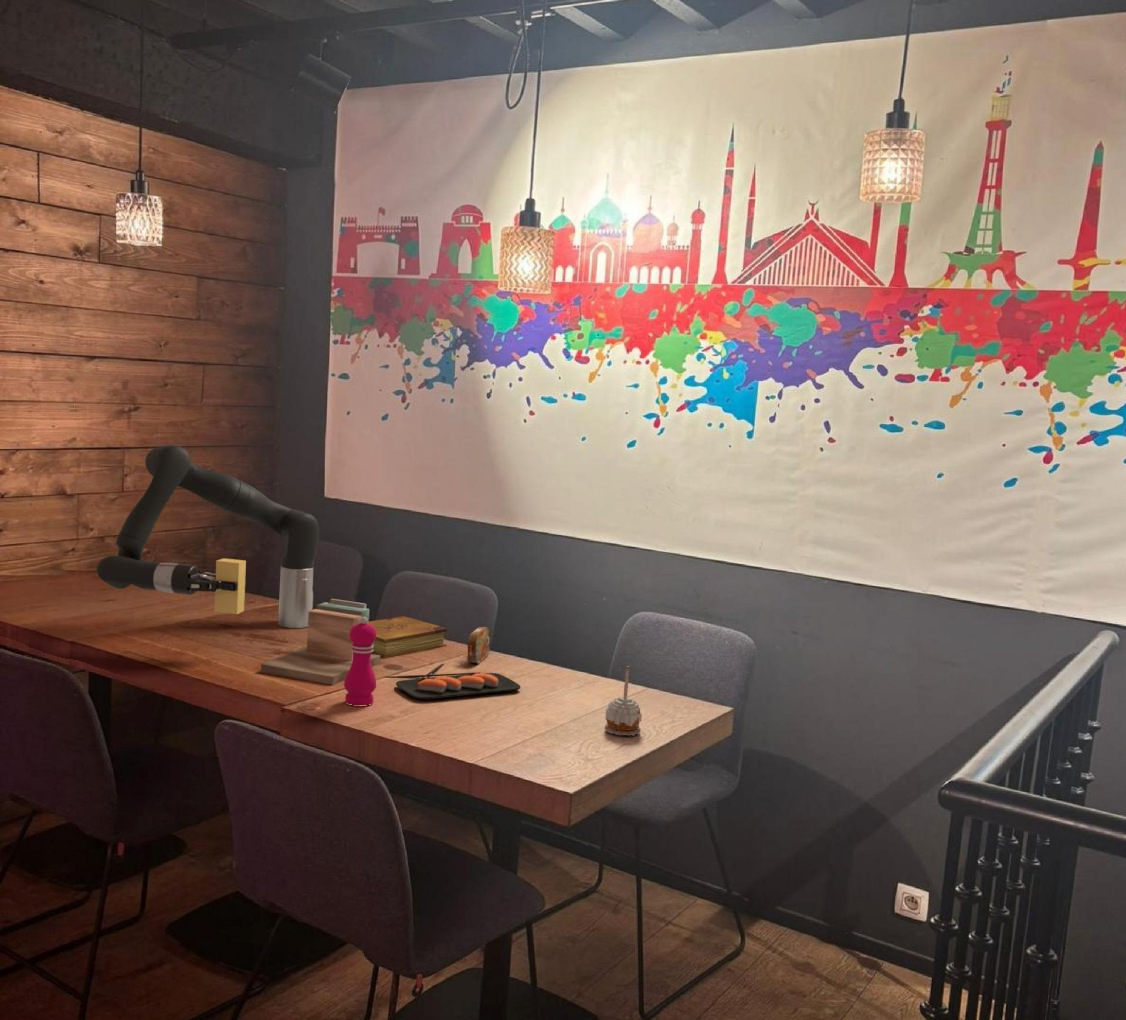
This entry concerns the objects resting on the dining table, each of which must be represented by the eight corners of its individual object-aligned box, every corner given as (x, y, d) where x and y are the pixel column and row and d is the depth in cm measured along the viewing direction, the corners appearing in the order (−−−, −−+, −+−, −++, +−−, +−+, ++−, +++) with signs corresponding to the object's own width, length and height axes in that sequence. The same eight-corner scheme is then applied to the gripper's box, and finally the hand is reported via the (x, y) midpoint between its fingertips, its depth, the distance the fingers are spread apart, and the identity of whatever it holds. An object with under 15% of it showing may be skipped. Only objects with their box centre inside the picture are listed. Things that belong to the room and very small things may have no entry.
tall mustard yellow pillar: (221, 608, 276) (223, 558, 274) (243, 610, 275) (245, 560, 274) (214, 611, 272) (216, 560, 271) (237, 614, 271) (239, 563, 270)
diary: (400, 634, 316) (402, 615, 316) (446, 648, 305) (447, 628, 304) (338, 645, 298) (340, 624, 298) (384, 659, 287) (385, 638, 286)
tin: (475, 667, 285) (477, 635, 284) (464, 665, 286) (466, 634, 285) (490, 654, 300) (492, 624, 299) (479, 652, 300) (481, 623, 299)
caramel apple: (646, 735, 240) (652, 669, 238) (619, 739, 235) (625, 672, 233) (625, 724, 246) (630, 660, 244) (597, 729, 241) (603, 663, 240)
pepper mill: (347, 696, 251) (351, 612, 248) (378, 699, 250) (383, 614, 248) (339, 705, 243) (344, 618, 241) (371, 708, 243) (376, 621, 241)
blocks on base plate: (312, 651, 288) (315, 596, 286) (380, 662, 282) (383, 606, 280) (260, 672, 265) (263, 612, 263) (332, 684, 259) (336, 623, 257)
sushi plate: (415, 706, 250) (416, 690, 249) (367, 671, 275) (367, 656, 274) (524, 695, 265) (526, 680, 265) (469, 663, 290) (470, 649, 290)
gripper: (163, 568, 267) (228, 575, 265) (190, 559, 281) (253, 565, 279) (162, 598, 268) (227, 605, 266) (189, 587, 282) (252, 594, 280)
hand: (240, 585), depth 273 cm, fingers closed on tall mustard yellow pillar, 4 cm apart
